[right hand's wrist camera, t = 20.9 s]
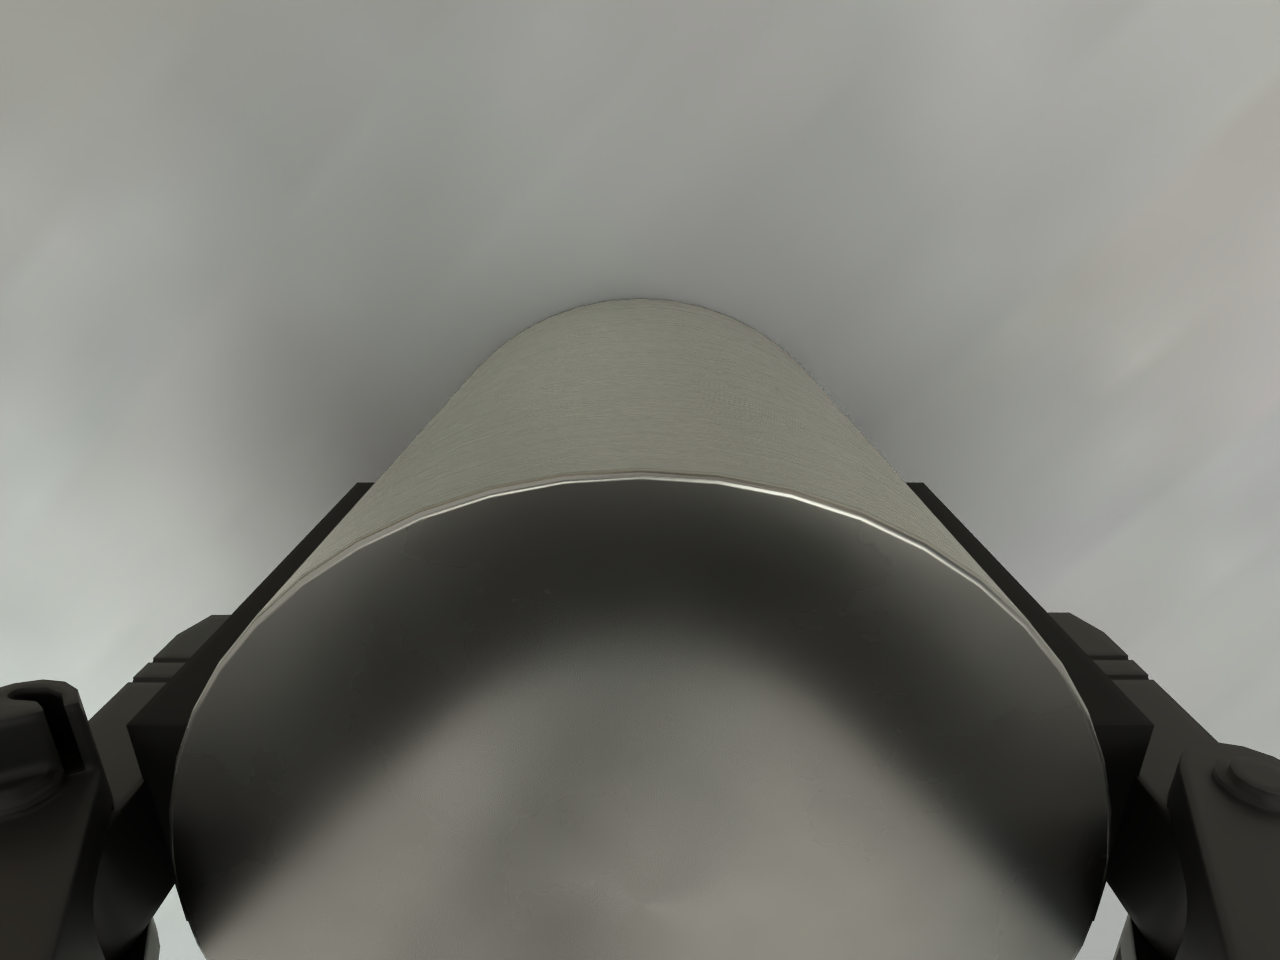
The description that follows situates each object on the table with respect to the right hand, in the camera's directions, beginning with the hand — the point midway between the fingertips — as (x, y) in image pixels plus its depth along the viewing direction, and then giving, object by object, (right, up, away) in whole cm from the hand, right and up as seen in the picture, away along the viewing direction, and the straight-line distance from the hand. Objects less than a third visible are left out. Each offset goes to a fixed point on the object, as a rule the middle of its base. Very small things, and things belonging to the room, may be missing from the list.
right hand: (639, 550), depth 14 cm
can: (0, +1, +2) cm, 2 cm away
